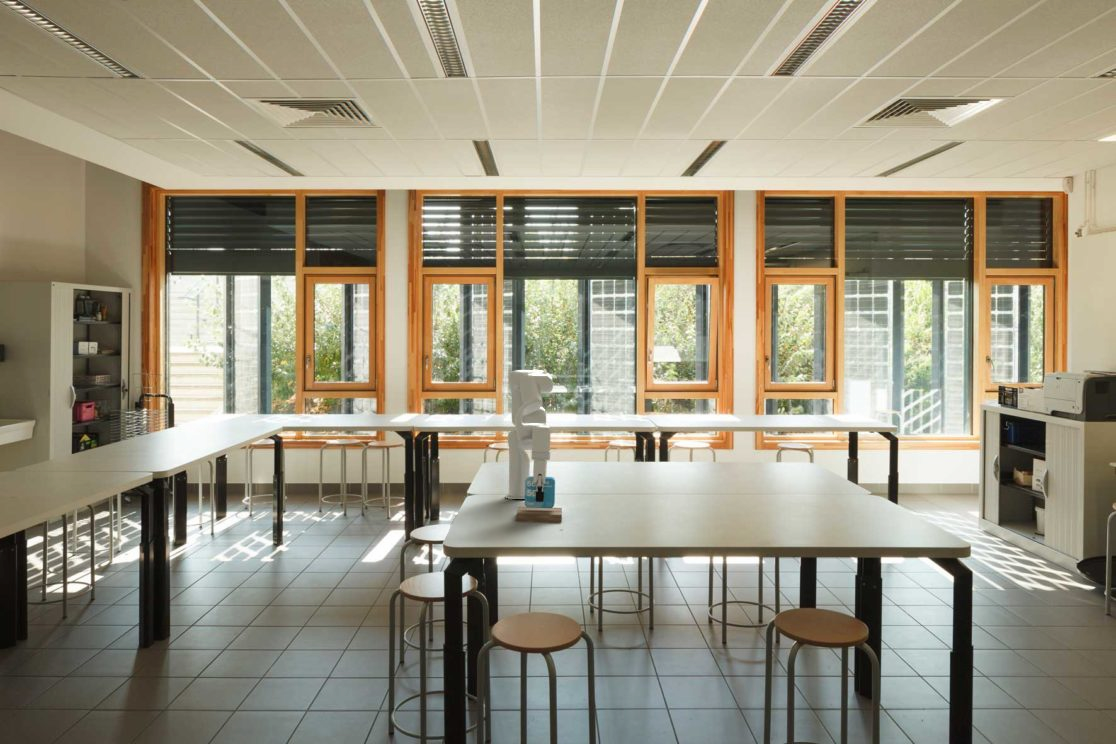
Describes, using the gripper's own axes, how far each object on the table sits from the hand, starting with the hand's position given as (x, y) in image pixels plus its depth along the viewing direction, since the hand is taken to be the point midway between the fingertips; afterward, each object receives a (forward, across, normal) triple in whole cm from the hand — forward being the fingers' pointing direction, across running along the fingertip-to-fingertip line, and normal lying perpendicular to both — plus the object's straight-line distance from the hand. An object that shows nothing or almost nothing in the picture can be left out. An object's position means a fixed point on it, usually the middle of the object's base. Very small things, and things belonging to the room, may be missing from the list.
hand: (539, 499), depth 309 cm
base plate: (+7, 0, 0) cm, 7 cm away
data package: (+3, 0, 0) cm, 3 cm away
